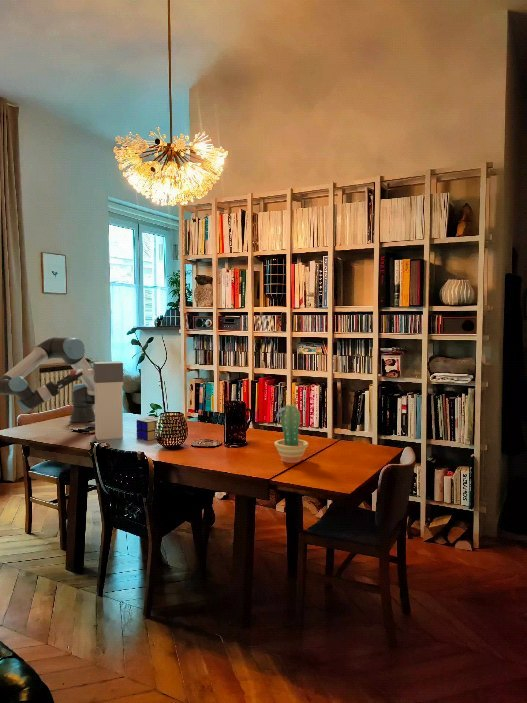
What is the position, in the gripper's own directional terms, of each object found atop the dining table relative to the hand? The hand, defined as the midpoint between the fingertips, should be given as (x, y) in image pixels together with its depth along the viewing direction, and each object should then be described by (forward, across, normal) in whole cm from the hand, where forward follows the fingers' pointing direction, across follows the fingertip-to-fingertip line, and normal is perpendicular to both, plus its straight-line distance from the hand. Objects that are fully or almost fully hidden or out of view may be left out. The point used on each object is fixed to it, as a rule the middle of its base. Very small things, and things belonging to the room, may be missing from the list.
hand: (87, 368), depth 283 cm
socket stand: (-9, 0, -37) cm, 38 cm away
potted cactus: (+52, +78, -73) cm, 119 cm away
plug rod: (+2, 0, -5) cm, 5 cm away
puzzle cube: (+8, +11, -48) cm, 49 cm away
